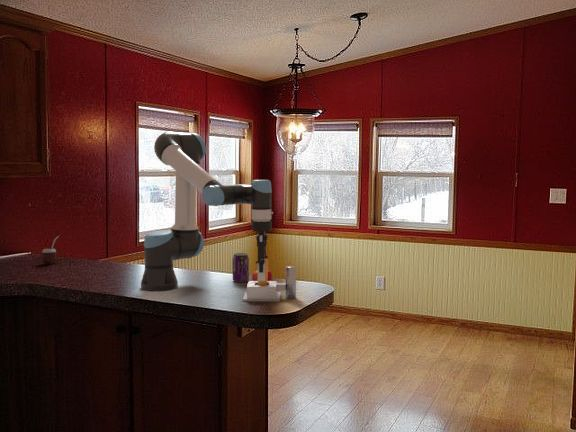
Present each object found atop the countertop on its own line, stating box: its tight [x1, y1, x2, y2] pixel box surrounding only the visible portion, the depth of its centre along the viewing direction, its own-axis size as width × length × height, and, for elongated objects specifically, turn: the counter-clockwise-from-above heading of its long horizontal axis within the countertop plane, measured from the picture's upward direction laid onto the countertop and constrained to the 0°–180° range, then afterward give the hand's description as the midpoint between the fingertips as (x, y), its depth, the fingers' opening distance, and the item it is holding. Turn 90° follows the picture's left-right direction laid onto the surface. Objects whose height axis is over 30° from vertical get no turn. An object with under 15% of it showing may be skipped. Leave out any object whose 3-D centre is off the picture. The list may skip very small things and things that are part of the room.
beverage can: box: [232, 252, 250, 283], centre depth 264 cm, size 7×7×12 cm
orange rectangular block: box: [258, 258, 269, 285], centre depth 230 cm, size 4×4×14 cm
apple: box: [251, 269, 273, 281], centre depth 250 cm, size 8×8×10 cm
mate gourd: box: [41, 235, 60, 266], centre depth 309 cm, size 8×8×15 cm
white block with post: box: [242, 265, 297, 302], centre depth 231 cm, size 20×12×12 cm, turn 90°
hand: (262, 277), depth 231 cm, fingers open, 10 cm apart
